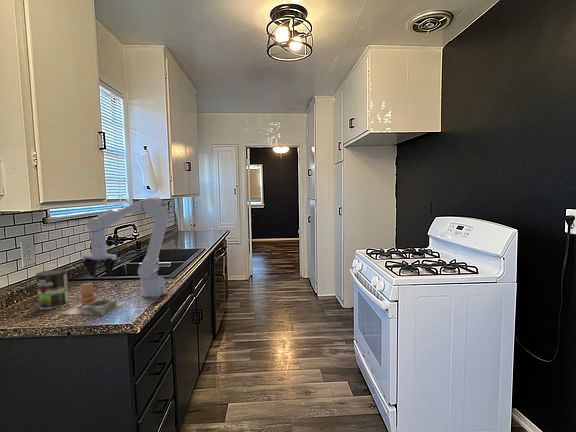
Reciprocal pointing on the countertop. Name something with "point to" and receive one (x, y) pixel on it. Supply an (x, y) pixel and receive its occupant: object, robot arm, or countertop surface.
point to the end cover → (87, 294)
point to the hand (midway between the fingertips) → (100, 275)
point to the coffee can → (52, 288)
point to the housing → (94, 307)
